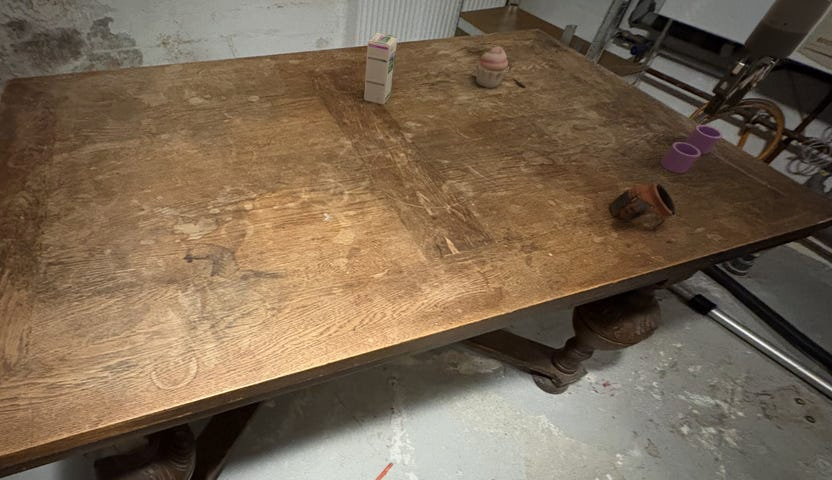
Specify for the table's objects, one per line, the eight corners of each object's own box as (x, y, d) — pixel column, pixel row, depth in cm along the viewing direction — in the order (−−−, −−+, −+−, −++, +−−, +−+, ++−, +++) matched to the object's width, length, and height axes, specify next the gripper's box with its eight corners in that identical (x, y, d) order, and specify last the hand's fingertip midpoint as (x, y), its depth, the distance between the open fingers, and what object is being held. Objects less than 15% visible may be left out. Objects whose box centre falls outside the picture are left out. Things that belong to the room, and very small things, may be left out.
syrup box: (384, 105, 105) (391, 45, 94) (362, 100, 107) (367, 39, 95) (390, 95, 109) (398, 36, 98) (370, 90, 110) (375, 31, 99)
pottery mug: (616, 195, 88) (658, 173, 82) (639, 233, 87) (684, 214, 81) (597, 205, 80) (642, 182, 74) (623, 247, 79) (670, 227, 73)
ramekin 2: (691, 139, 104) (704, 122, 101) (713, 150, 101) (727, 134, 98) (678, 144, 102) (691, 128, 98) (700, 156, 99) (714, 140, 96)
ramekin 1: (669, 156, 98) (682, 139, 95) (691, 169, 95) (705, 152, 92) (655, 162, 96) (667, 145, 93) (677, 176, 93) (691, 159, 90)
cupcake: (484, 93, 113) (496, 55, 105) (464, 78, 118) (474, 41, 110) (510, 88, 116) (524, 50, 108) (489, 73, 121) (501, 37, 113)
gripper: (790, 37, 68) (718, 126, 81) (828, 24, 73) (754, 110, 86) (745, 21, 72) (683, 108, 85) (783, 10, 77) (719, 94, 90)
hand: (719, 109), depth 85 cm, fingers open, 8 cm apart
